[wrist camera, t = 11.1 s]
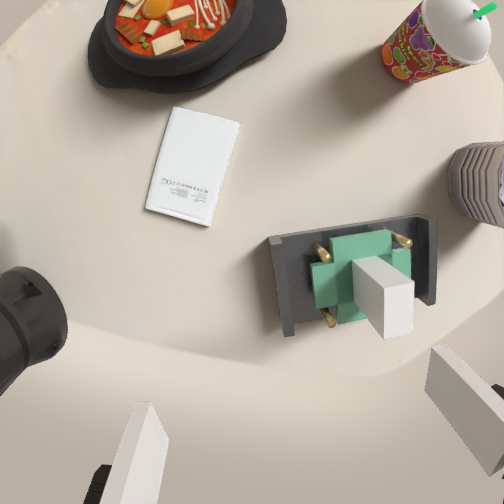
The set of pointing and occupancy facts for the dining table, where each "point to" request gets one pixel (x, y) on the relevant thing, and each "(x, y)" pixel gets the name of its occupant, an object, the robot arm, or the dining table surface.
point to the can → (479, 182)
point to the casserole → (180, 41)
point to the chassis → (318, 250)
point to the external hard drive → (192, 165)
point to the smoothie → (438, 40)
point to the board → (341, 270)
